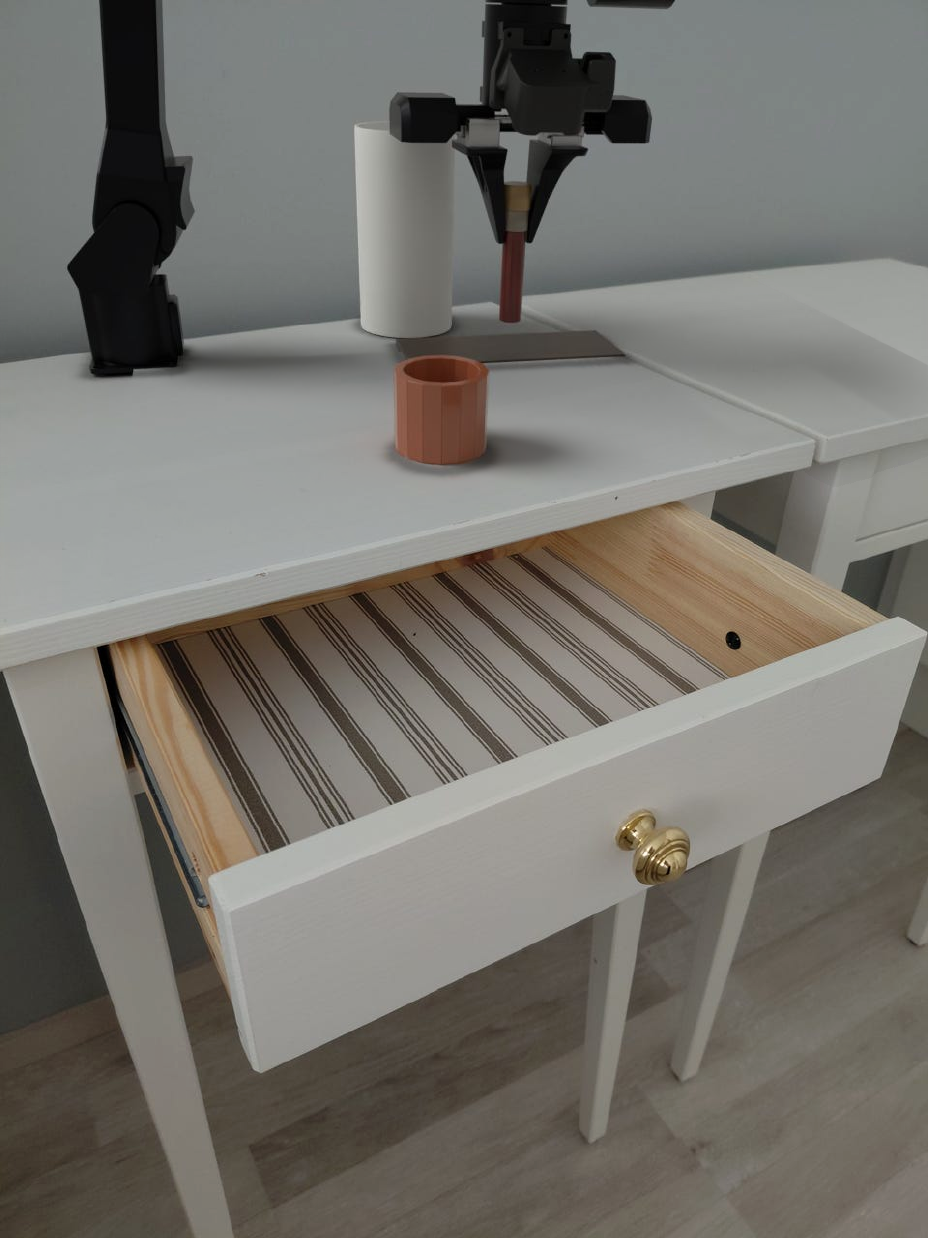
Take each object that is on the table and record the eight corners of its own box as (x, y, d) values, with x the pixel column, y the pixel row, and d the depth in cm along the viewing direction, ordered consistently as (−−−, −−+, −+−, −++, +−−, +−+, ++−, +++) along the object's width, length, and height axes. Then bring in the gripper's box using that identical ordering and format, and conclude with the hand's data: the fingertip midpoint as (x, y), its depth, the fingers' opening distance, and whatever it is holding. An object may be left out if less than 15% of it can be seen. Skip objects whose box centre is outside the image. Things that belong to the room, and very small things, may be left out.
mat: (410, 372, 73) (410, 364, 73) (395, 345, 79) (395, 338, 79) (624, 361, 77) (625, 354, 77) (595, 336, 83) (596, 329, 82)
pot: (404, 474, 57) (403, 387, 54) (389, 438, 62) (387, 356, 59) (495, 467, 58) (499, 382, 55) (473, 433, 63) (476, 352, 60)
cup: (440, 341, 80) (443, 133, 71) (349, 333, 81) (340, 128, 73) (459, 316, 87) (464, 123, 78) (375, 309, 88) (370, 118, 79)
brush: (500, 324, 75) (507, 185, 70) (493, 316, 77) (499, 181, 71) (526, 323, 76) (535, 185, 70) (518, 315, 77) (526, 180, 72)
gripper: (416, 0, 56) (416, 269, 65) (700, 9, 60) (665, 262, 68) (386, 0, 65) (390, 236, 74) (634, 9, 69) (611, 232, 77)
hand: (513, 242), depth 73 cm, fingers closed on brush, 2 cm apart
